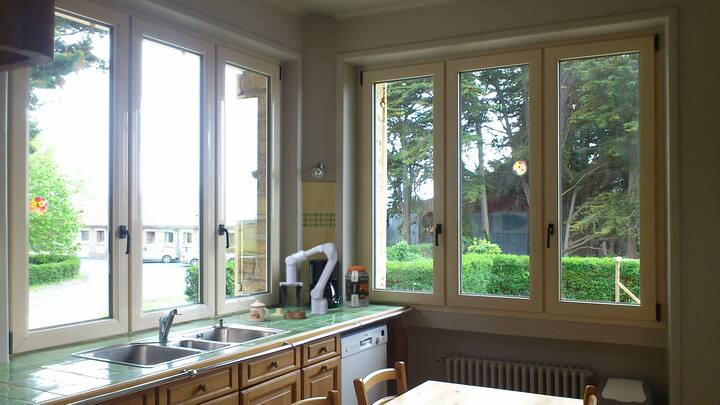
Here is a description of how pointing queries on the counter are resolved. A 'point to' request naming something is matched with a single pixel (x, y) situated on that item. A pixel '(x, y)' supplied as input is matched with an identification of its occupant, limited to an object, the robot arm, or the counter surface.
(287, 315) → the walnut box
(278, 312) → the lid
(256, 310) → the teacup with lid
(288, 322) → the counter surface
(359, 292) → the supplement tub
